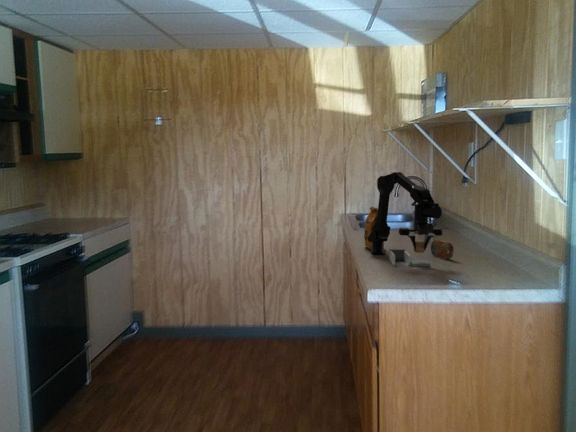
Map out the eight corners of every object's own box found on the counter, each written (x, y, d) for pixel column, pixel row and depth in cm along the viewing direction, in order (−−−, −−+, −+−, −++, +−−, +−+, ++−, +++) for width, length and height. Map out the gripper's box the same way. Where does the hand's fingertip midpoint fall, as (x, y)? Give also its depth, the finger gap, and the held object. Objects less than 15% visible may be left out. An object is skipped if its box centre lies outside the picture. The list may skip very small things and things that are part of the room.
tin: (430, 255, 277) (430, 238, 276) (435, 254, 278) (435, 238, 277) (448, 260, 263) (449, 243, 262) (454, 260, 264) (455, 242, 263)
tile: (409, 262, 259) (409, 260, 259) (426, 262, 259) (426, 260, 259) (412, 266, 251) (412, 263, 251) (430, 266, 251) (430, 263, 251)
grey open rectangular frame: (389, 259, 266) (389, 249, 266) (405, 259, 266) (405, 249, 266) (393, 265, 254) (393, 254, 253) (410, 265, 253) (410, 254, 253)
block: (413, 251, 258) (413, 240, 257) (422, 250, 258) (422, 240, 257) (415, 252, 254) (415, 241, 254) (424, 252, 254) (424, 241, 254)
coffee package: (366, 250, 289) (367, 208, 286) (362, 246, 301) (363, 206, 299) (385, 250, 289) (386, 208, 287) (381, 246, 302) (381, 206, 299)
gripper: (403, 218, 245) (402, 253, 247) (445, 218, 244) (444, 253, 246) (398, 215, 256) (398, 248, 258) (439, 215, 255) (438, 249, 257)
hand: (419, 250), depth 254 cm, fingers closed on block, 4 cm apart
